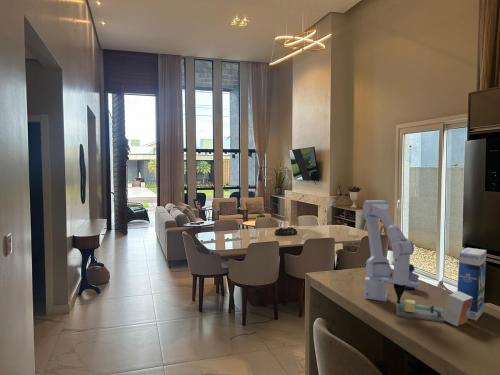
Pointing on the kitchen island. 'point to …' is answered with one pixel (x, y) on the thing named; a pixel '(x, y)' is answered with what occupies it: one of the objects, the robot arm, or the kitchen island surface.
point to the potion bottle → (412, 276)
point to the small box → (457, 308)
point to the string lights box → (473, 278)
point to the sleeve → (409, 305)
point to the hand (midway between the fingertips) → (399, 302)
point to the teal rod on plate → (421, 312)
